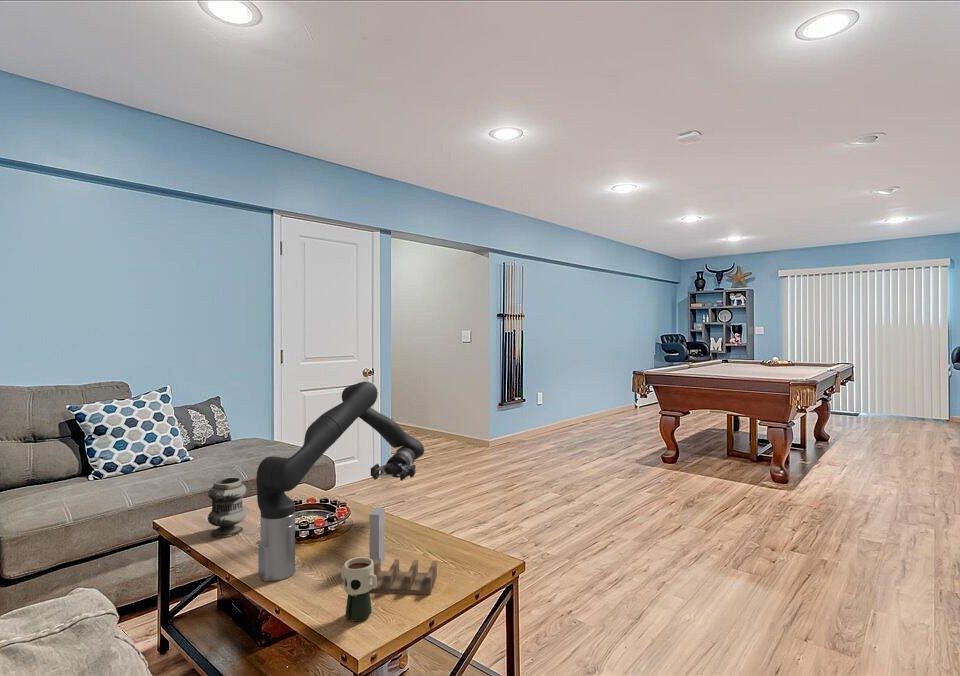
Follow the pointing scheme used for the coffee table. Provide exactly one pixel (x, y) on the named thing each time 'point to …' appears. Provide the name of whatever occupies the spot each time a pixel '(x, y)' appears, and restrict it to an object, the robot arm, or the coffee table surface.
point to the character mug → (358, 586)
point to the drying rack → (404, 579)
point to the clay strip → (377, 535)
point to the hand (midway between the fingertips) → (388, 476)
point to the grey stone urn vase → (227, 506)
